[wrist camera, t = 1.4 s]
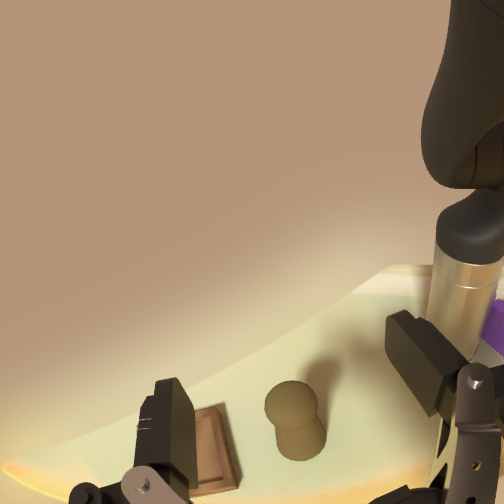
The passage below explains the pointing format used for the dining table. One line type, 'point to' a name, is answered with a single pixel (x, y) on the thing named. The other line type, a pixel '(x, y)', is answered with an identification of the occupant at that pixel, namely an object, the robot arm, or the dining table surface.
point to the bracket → (495, 327)
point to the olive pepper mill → (295, 420)
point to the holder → (212, 455)
